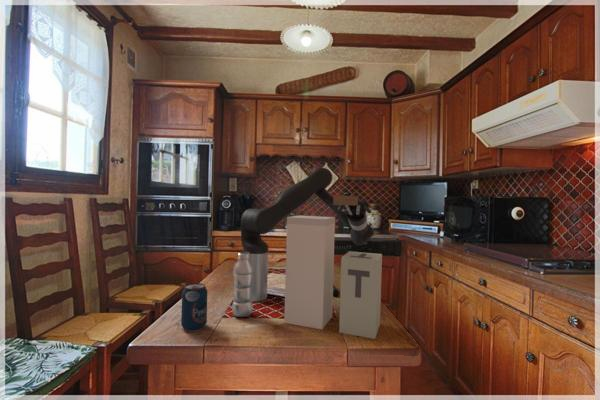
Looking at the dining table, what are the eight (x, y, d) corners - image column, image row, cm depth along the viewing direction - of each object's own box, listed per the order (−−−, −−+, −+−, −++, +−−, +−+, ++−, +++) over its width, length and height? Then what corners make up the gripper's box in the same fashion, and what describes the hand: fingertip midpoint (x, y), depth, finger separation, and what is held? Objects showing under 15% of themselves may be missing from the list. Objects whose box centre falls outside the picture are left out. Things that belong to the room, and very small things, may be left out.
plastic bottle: (235, 321, 98) (237, 255, 98) (229, 313, 104) (230, 251, 104) (255, 317, 101) (257, 254, 101) (248, 310, 107) (250, 250, 107)
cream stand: (297, 311, 108) (300, 215, 108) (332, 316, 104) (335, 217, 104) (284, 322, 98) (287, 217, 98) (322, 329, 94) (325, 219, 93)
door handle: (301, 292, 123) (342, 289, 125) (294, 278, 142) (329, 276, 145) (301, 301, 123) (342, 297, 125) (294, 286, 142) (329, 283, 145)
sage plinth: (347, 319, 102) (349, 251, 102) (379, 324, 99) (382, 253, 98) (339, 332, 92) (341, 256, 92) (375, 339, 88) (377, 260, 88)
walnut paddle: (344, 203, 126) (344, 195, 126) (362, 204, 123) (362, 196, 123) (333, 204, 109) (333, 195, 109) (353, 205, 106) (354, 196, 106)
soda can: (197, 334, 88) (198, 290, 88) (175, 330, 90) (176, 287, 90) (211, 324, 95) (212, 283, 95) (191, 321, 97) (192, 281, 97)
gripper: (341, 209, 138) (333, 188, 123) (375, 210, 133) (371, 189, 119) (339, 225, 134) (330, 205, 120) (373, 227, 129) (369, 207, 115)
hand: (351, 197), depth 119 cm, fingers closed on walnut paddle, 3 cm apart
